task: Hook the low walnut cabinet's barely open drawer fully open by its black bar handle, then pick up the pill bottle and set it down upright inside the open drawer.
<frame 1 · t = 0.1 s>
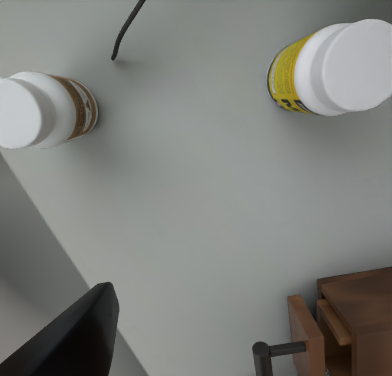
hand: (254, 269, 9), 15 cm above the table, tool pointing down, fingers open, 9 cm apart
pill bottle: (71, 108, 21), on the table
cabinet: (373, 309, 28), on the table
supplement bottle: (295, 78, 21), on the table
drawer: (331, 347, 25), point 3 cm above the table, slide at 2.0 cm
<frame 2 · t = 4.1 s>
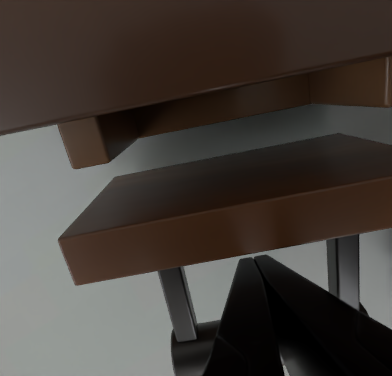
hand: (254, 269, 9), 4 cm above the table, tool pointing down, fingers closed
drawer: (227, 112, 7), point 3 cm above the table, slide at 2.2 cm, touching gripper
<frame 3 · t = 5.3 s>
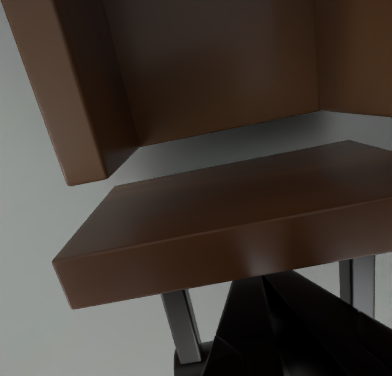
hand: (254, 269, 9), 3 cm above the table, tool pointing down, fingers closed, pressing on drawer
drawer: (233, 121, 7), point 3 cm above the table, slide at 8.1 cm, touching gripper
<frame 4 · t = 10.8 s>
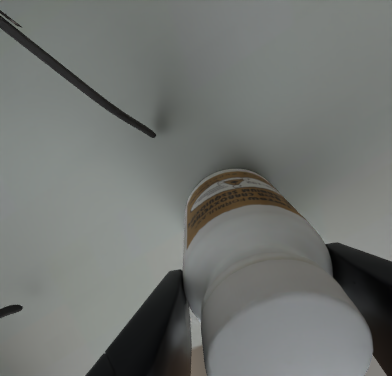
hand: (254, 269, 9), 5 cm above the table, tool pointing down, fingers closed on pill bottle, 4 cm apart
pill bottle: (230, 210, 13), on the table, touching gripper
when the fingers open (6 cm above the table, at t = 16.3 s): pill bottle stays where it is, resting on drawer.
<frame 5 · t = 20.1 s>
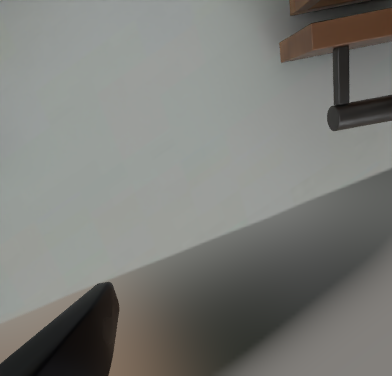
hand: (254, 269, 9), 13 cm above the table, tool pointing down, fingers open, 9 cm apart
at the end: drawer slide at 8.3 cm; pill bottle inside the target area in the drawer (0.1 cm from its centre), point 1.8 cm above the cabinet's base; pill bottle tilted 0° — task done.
